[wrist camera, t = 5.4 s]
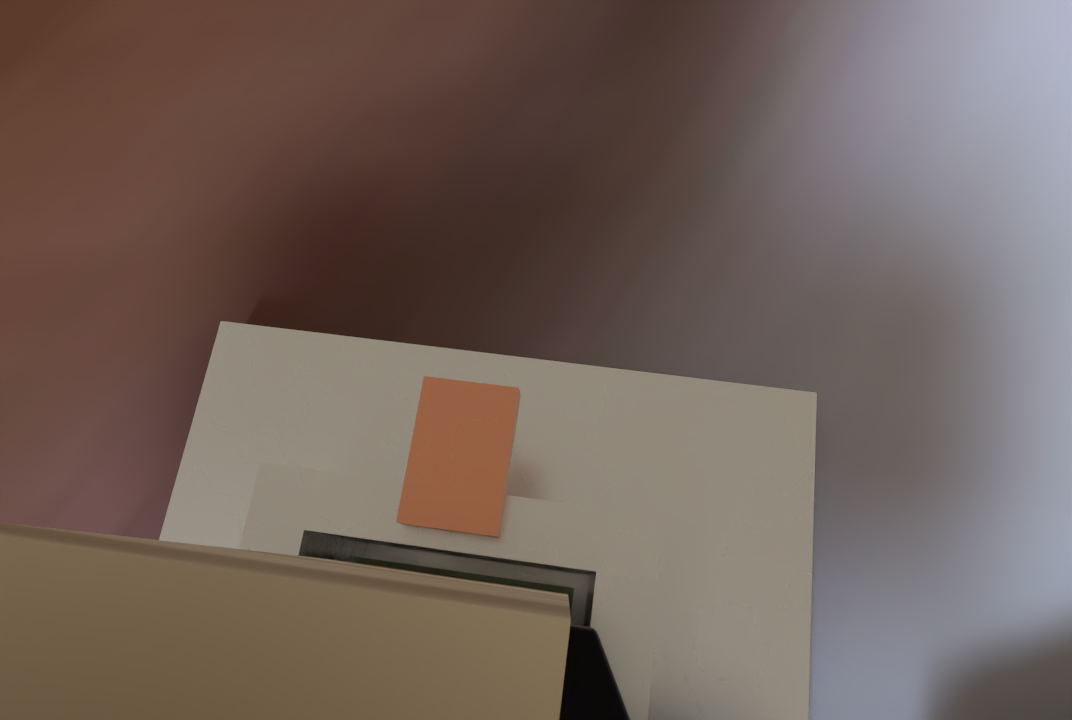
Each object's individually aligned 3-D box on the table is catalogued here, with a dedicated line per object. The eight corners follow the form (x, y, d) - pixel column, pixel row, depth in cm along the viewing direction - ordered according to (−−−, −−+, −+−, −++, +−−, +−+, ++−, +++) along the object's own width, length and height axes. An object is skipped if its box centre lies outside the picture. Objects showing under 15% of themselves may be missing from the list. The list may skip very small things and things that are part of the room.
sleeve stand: (779, 1146, 13) (919, 1517, 8) (57, 1000, 14) (-239, 1241, 9) (803, 403, 17) (906, 323, 12) (238, 334, 18) (106, 234, 13)
